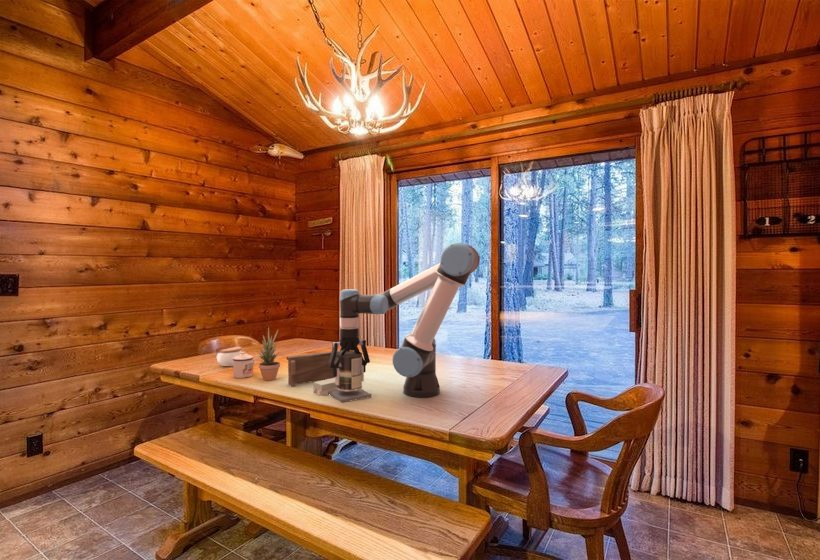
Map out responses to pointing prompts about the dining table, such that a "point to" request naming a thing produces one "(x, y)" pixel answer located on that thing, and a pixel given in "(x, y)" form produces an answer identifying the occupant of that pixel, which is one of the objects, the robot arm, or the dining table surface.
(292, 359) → the walnut rack
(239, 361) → the teacup with lid
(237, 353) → the lidded bowl
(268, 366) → the potted plant
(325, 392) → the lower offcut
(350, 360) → the coffee can
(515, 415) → the dining table surface
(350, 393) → the slate mat
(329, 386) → the upper offcut
